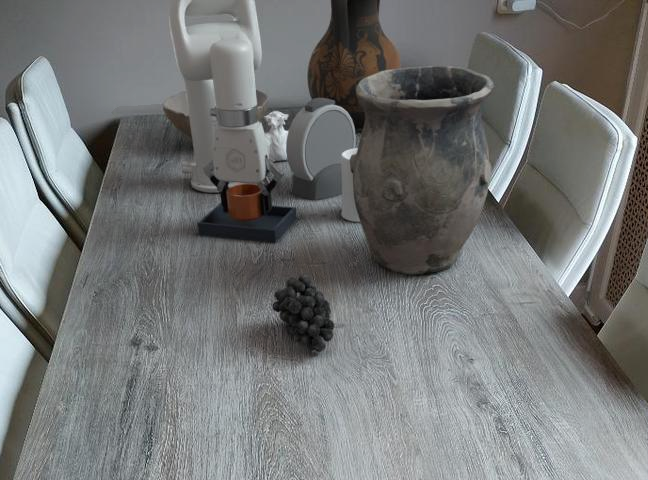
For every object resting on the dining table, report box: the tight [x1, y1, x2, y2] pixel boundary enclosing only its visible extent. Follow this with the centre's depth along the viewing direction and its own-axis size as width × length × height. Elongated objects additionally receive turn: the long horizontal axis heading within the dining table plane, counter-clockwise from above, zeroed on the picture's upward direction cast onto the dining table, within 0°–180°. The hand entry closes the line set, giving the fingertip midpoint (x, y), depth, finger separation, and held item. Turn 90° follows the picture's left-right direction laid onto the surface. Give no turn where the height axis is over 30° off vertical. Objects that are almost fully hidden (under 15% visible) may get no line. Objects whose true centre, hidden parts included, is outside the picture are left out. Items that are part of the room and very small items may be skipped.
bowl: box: [162, 89, 269, 140], centre depth 201 cm, size 26×26×10 cm
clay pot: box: [350, 65, 495, 276], centre depth 136 cm, size 22×23×30 cm
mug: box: [340, 147, 361, 223], centre depth 159 cm, size 12×8×12 cm
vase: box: [306, 0, 402, 133], centre depth 201 cm, size 24×24×35 cm
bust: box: [263, 110, 289, 163], centre depth 190 cm, size 12×8×11 cm
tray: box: [197, 202, 297, 243], centre depth 159 cm, size 16×12×2 cm
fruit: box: [271, 274, 335, 353], centre depth 121 cm, size 9×8×15 cm
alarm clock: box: [286, 98, 357, 201], centre depth 169 cm, size 16×10×18 cm, turn 134°
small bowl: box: [226, 183, 263, 221], centre depth 156 cm, size 7×7×5 cm
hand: (247, 210), depth 157 cm, fingers closed on small bowl, 7 cm apart
